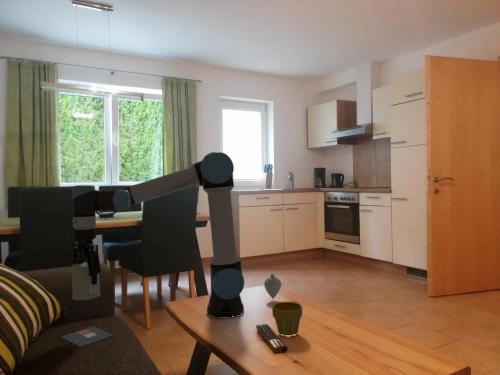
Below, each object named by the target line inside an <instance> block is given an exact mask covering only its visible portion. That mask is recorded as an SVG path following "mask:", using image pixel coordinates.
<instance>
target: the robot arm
mask: <svg viewBox="0 0 500 375" xmlns="http://www.w3.org/2000/svg"><path fill="white" fill-rule="evenodd" d="M234 170H235V166H234V162H233V160H232V158H231V157H230V156H229V155H228V154H226V153H224V152H223V151H212V152H211V151H210V152H209V153H207V154H206V155H204V157H203V158H202V160H200V161H197V162H195V163H192V165H191V166H190V167H186V168H184V169H179V170H178V171H174V172H172V173H171V172H170V173H168V174H165V175H162V176H159V177H155V178H152V179H148V180H145V181H143V182H142V181H141V182H140V183H136V184H132V185H130V186H126V187H124V188H119V189H104V190H99V189H98V190H97V189H96V186H95V185H92V184H89V185H88V184H85V185H84V184H83V185H79V184H78V185H73V187H72V191H71V192H72V197H71V203H72V206H71V207H72V221H71V222H72V228H74V229H73V230H72V239H73V240H74V241H76V242H72V254H71V266H72V265H73V264H79V263H83V262H87V265H88V266H89V273H90V274H89V275H88V277H89V294H94V293H97V274H99V275H100V274H101V273H102V271H101V269H102V268H101V263H100V255H99V245H98V244H94V240H95V239H96V238H97V228H96V226H97V214H96V212H113V211H114V212H115V211H116V212H117V211H118V212H122V211H128V210H130V209H131V207H132V206H135V205H137V204H141V203H144V202H147V201H150V200H153V199H157V198H160V197H162V196H165V195H169V194H173V193H175V192H179V191H182V190H186V189H188V188H192V187H194V186H198V187H202V190H203V191H204V192H205V193H206V194H207V201H208V203H207V204H208V214H209V224H210V235H211V243H212V253H213V254H212V255H213V256H212V257H211V258H210V260H209V267H210V297H209V300H208V303H207V306H206V313H208V314H209V315H211V316H214V317H213V318H215V317H231V318H233V317H232V316H236V317H238V316H237V315H239V316H241V315H242V314H241V313H243V314H244V311H245V308H244V307H245V306H244V303H243V302H242V298H241V293H242V292H243V289H244V287H245V278H244V275H243V270H242V260H241V257H239V255H237V248H236V239H235V238H236V237H235V226H234V216H233V206H232V205H233V204H232V195H231V192H232V190H233V188H234V187H235V185H234ZM85 260H86V261H85ZM71 269H72V267H71ZM208 314H207V315H208ZM240 314H241V315H240ZM209 315H208V316H209ZM211 316H210V317H211Z"/></svg>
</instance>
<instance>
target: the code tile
mask: <svg viewBox="0 0 500 375" xmlns="http://www.w3.org/2000/svg"><path fill="white" fill-rule="evenodd" d="M111 337H114V334H112V333H110V332H107V331H105V330H103V329H100V328H98V327H97V326H96V327H95V326H90V327H87V328H84V329H81V330H78V331H74V332H72V333H69V334H65V335H62V336H60V338H61V339H63V340H66V341H67V342H69V343H71V344H73V345H75V346H76V347H79V348H81V347H82V348H83V347H85V346H89V345H91V344H93V343H96V342H99V341H101V340H104V339H108V338H111Z"/></svg>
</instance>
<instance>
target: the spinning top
mask: <svg viewBox="0 0 500 375" xmlns="http://www.w3.org/2000/svg"><path fill="white" fill-rule="evenodd" d="M263 285H264V288H265V290H266V292H267V294H268V295H269V296H270V297H271V299H275V298H276V296H277V295H278V294H279V292H280V290H281V289H282V288H281V287H282V282H281V280H280V278H279V277H277V276H275V273H270V276H269V277H267V278H266V279H265V280H264V284H263Z"/></svg>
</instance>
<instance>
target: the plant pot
mask: <svg viewBox="0 0 500 375" xmlns="http://www.w3.org/2000/svg"><path fill="white" fill-rule="evenodd" d="M271 310H272V317H273V318H274V321H275V324H276V329H277V333H278V332H279V333H280V334H283V335H293V334H296V333H299V329H300V328H299V327H300V321H301V318H302V317H303V306H302V304H300V303H298V302H295V301H280V302H276V303H274V304H272V309H271ZM279 333H278V334H279Z"/></svg>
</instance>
